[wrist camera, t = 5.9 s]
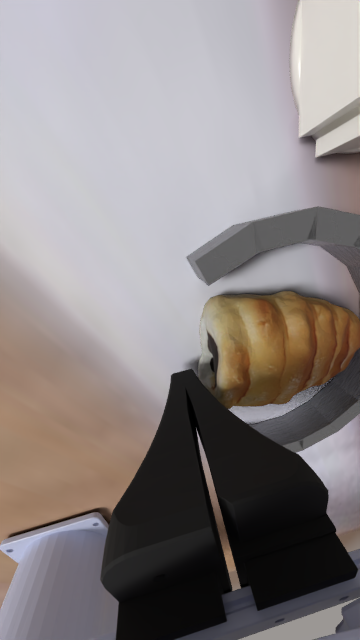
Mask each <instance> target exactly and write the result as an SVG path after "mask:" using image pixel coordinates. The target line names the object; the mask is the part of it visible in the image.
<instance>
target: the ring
mask: <svg viewBox="0 0 360 640" xmlns="http://www.w3.org/2000/svg"><path fill="white" fill-rule="evenodd" d="M295 243H305V244H312V245H318V246H321V247H322V248H323V249H325V250H326V251H327V252H329V253H330V254H331V255H333V256H334V257H336V258H337V259H338V260H340V261H341V262H342V263H344V264H345V265H346V266H347V267H348V270H349V272H350V274H351V276H352V278H353V280H354V282H355V285H356V287H357V289H358V291H359V293H360V215H357V214H352V213H347V212H342V211H338V210H333V209H328V208H323V207H313V208H308V209H303V210H298V211H292V212H287V213H283V214H279V215H274V216H270V217H266V218H262V219H258V220H253V221H249V222H245V223H241V224H236V225H233V226H231V227H230V228H228V229H227V230H225V231H224V232H223V233H221V234H220V235H218V236H217V237H215V238H214V239H212V240H211V241H209V242H208V243H206V244H205V245H203V246H202V247H200V248H199V249H197V250H196V251H194V252H193V253H192V254H190V255H189V256H187V257H186V258H187V259H188V261H189V263H190V265H191V266H192V268H193V270H194V271H195V273H196V275H197V277H198V278H199V279H201V280H202V281H203V282H205V283H206V284H207V285H208V286H209V285H211V284H212V283H214V282H215V281H217V280H218V279H220V278H221V277H223V276H224V275H226V274H227V273H229V272H230V271H232V270H233V269H235V268H237V267H238V266H240V265H241V264H243V263H244V262H246V261H247V260H249V259H250V258H252V257H253V256H255V255H256V254H258V253H259V252H263V251H267V250H271V249H275V248H279V247H283V246H287V245H291V244H295ZM358 414H360V348H359V349H358V350H357V351H356V352H355V353H354V356H353V358H352V359H351V360H350V362H349V365H348V366H347V367H346V369H345V370H343V371H341V372H339V373H338V374H336V375H335V377H334V378H333V380H332V381H331V382H330V383H329V384H327V385H326V386H325V387H324V388H323V389H322V390H321V391H320V392H319V393H318V394H316V395H315V396H314V397H313V398H312V399H311V400H310V401H308V402H307V403H305V404H303V405H301V406H300V407H298V408H296V409H294V410H292V411H291V412H289V413H287V414H285V415H284V416H281V417H278V418H274V419H271V420H267V421H264V422H260V423H257V424H248V425H249V426H251V427H252V428H254V429H255V430H257V431H258V432H260V433H261V434H263V435H264V436H266V437H268V438H269V439H271V440H273V441H274V442H276V443H278V444H280V445H281V446H283V447H285V448H287V449H289V450H291V451H293V452H294V453H296V452H299V451H302V450H304V449H306V448H308V447H310V446H312V445H314V444H315V443H317V442H319V441H321V440H323V439H325V438H327V437H328V436H330V435H332V434H334V433H336V432H338V431H339V430H340V429H341V428H343V427H344V426H345V425H346V424H347V423H349V422H350V421H351V420H352V419H354V418H355V417H356V416H357V415H358Z"/></svg>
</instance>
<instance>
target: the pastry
mask: <svg viewBox="0 0 360 640" xmlns="http://www.w3.org/2000/svg"><path fill="white" fill-rule="evenodd" d="M199 333H200V338H201V348H202V356H201V358H200V360H199V364H198V378H199V380H200V381H201V383H202V384H203V385H204V386H205V387H206V388H207V389H208V391H209V392H210V393H211V394H212V395H213V396H214V397H215V398H216V399H217V400H218V401H219V402H220V403H221V404H222V405H224V406H225V407H226V408H227V409H230V408H231V407H232V406H264V405H267V404H285V403H287V402H289V401H290V400H291V398H292V397H293V396H294V395H296V394H297V393H299V392H301V391H303V390H306V389H308V388H309V387H311V386H319V385H322V384H324V383H326V382H327V381H328V380H329V379H331V378H332V377H334V376H335V375H336V374H338V373H339V372H341V371H343V370H345V369H346V367H347V366H348V365H349V362H350V360H351V359H352V358H353V356H354V353H355V352H356V351H357V350H358V349H359V348H360V320H359V318H358V317H357V316H356V315H355V314H354V313H353V312H352V311H350V310H349V309H346V308H342V307H339V306H336V305H333V304H331V303H329V302H328V301H325V300H323V299H318V298H312V297H311V298H309V297H303V296H300V295H298V294H297V293H295V292H292V291H282V292H278V293H276V294H273V295H262V296H260V295H255V294H252V295H251V294H240V295H226V296H225V295H217V296H215V297H212V298H210V299H209V300H208V301H207V303H206V304H205V306H204V310H203V313H202V317H201V320H200V330H199Z"/></svg>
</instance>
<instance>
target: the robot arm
mask: <svg viewBox="0 0 360 640" xmlns="http://www.w3.org/2000/svg"><path fill="white" fill-rule="evenodd" d="M196 428H197V431H198V434H199V437H200V440H201V443H202V446H203V449H204V451H205V454H206V458H207V461H208V464H209V468H210V472H211V475H212V479H213V483H214V487H215V491H216V494H217V498H218V502H219V506H220V510H221V513H222V517H223V521H224V525H225V529H226V532H227V536H228V540H229V544H230V548H231V551H232V555H233V559H234V563H235V567H236V570H237V574H238V578H239V582H240V586H241V589H238V590H235V591H232V585H231V582H230V578H229V573H228V569H227V565H226V561H225V557H224V553H223V549H222V545H221V540H220V536H219V532H218V528H217V524H216V520H215V516H214V512H213V507H212V503H211V499H210V495H209V491H208V487H207V483H206V478H205V474H204V470H203V466H202V461H201V456H200V450H199V443H198V437H197V431H196ZM327 504H328V490H327V488H326V487H325V485H324V484H323V482H322V481H321V479H320V478H319V477H318V476H317V474H316V473H315V472H314V471H313V470H312V469H311V467H310V466H309V465H308V464H307V463H306V462H305V461H304V460H303V459H302V457H301V456H300V455H298V454H296V453H294V452H293V451H291V450H289V449H287V448H285V447H283V446H281V445H280V444H278V443H276V442H274V441H273V440H271V439H269V438H268V437H266V436H264V435H263V434H261V433H260V432H258V431H257V430H255V429H254V428H252V427H251V426H249V425H248V424H246V423H245V422H243V421H242V420H241V419H239V418H238V417H237V416H236V415H234V414H233V413H232V412H231V411H229V410H228V409H227V408H226V407H225V406H224V405H222V404H221V403H220V402H219V401H218V400H217V399H216V398H215V397H214V396H213V395H212V394H211V393H210V392H209V391H208V389H207V388H206V387H205V386H204V385H203V384H202V383H201V381H200V380H199V379H198V377H197V376H196V374H195V373H194V371H193V370H192V369H189V370H185V371H181V372H178V373H174V374H172V375H171V383H170V389H169V394H168V399H167V403H166V406H165V410H164V413H163V416H162V419H161V422H160V425H159V427H158V430H157V432H156V435H155V437H154V440H153V442H152V444H151V446H150V448H149V450H148V452H147V455H146V457H145V458H144V460H143V462H142V464H141V466H140V468H139V469H138V471H137V473H136V475H135V477H134V478H133V480H132V482H131V484H130V485H129V487H128V488H127V490H126V491H125V493H124V495H123V496H122V498H121V499H120V501H119V502H118V504H117V506H116V507H115V509H114V510H113V513H112V516H111V520H110V524H109V525H108V523H107V522H106V521H105V519H104V518H103V517H102V515H101V514H100V513H98V512H93V513H90V514H86V515H83V516H80V517H76V518H73V519H70V520H66V521H63V522H60V523H57V524H53V525H50V526H47V527H43V528H40V529H37V530H33V531H30V532H27V533H23V534H20V535H17V536H13V537H10V538H7V539H4V540H3V541H2V543H1V545H0V550H1V551H3V552H4V553H5V554H7V555H8V556H9V557H11V558H12V559H13V560H15V561H16V562H17V563H19V565H18V567H17V570H16V572H15V574H14V577H13V579H12V582H11V584H10V587H9V589H8V592H7V594H6V597H5V599H4V602H3V604H2V607H1V609H0V640H238V639H240V638H244V637H246V636H249V635H252V634H255V633H258V632H260V631H264V630H267V629H269V628H272V627H275V626H278V625H281V624H284V623H287V622H290V621H292V620H295V619H298V618H301V617H304V616H307V615H310V614H313V613H315V612H318V611H321V610H324V609H327V608H330V607H333V606H336V605H338V604H341V603H344V602H347V601H350V600H353V599H355V598H358V597H360V549H358V550H354V551H351V552H347V551H346V549H345V547H344V546H343V544H342V543H341V541H340V540H339V538H338V536H337V535H336V533H335V532H336V528H335V526H334V524H333V523H332V521H331V520H330V518H329V517H328V515H327V514H326V510H327ZM342 615H343V620H342V621H341V622H340V624H339V625H338V626H337V627H336V634H332V635H328V636H324V637H321V638H317V639H314V640H360V598H359V599H357V600H355V601H353V602H351V603H350V604H348V605H346V606H344V607H342Z"/></svg>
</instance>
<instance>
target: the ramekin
mask: <svg viewBox="0 0 360 640" xmlns="http://www.w3.org/2000/svg"><path fill="white" fill-rule="evenodd" d="M289 68H290V81H291V89H292V94H293V98H294V103H295V106H296V109H297V112H298V115H299V138H301V137H306V136H310V135H311V136H312V137H313V139H314V140H315V141H316V155H315V158H316V157H320V156H325V155H329V154H333V153H342V154H352V153H359V152H360V0H298V2H297V6H296V10H295V15H294V20H293V24H292V32H291V39H290V54H289Z"/></svg>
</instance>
